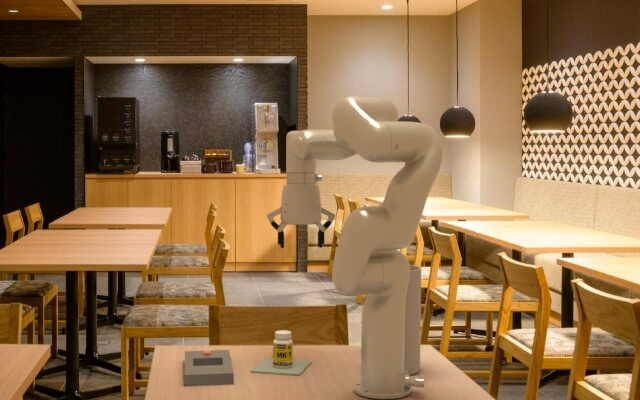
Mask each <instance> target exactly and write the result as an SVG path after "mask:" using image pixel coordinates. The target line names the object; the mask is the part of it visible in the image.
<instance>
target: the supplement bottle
mask: <svg viewBox="0 0 640 400" xmlns="http://www.w3.org/2000/svg"><path fill="white" fill-rule="evenodd" d="M272 344H273V345H272V352H273V353H272V359H273V366H274V367H276V368H289V367H291V366H292V364H293V360H294V359H293V357H294V355H293V354H294V353H293V351H294V348H293V347H294V346H293V345H294V343H293V340H292V331H290V330H283V329H282V330H276V331H275V332H274V340H273V342H272Z"/></svg>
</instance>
